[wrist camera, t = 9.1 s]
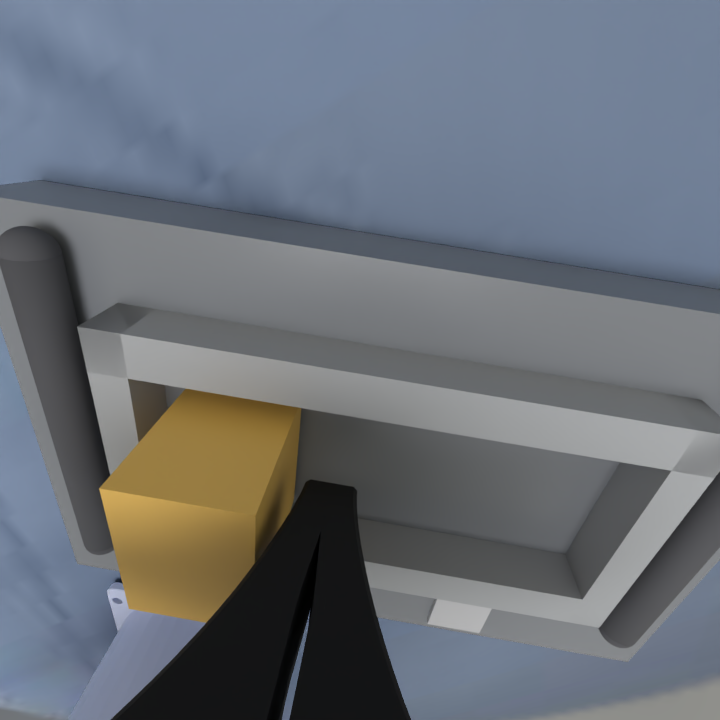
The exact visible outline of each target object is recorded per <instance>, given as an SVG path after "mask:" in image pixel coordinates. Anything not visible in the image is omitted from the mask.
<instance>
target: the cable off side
mask: <svg viewBox="0 0 720 720" xmlns="http://www.w3.org/2000/svg"><path fill="white" fill-rule="evenodd" d="M719 548H720V472H719V473H718V474H717V476H716V477H715V478H714V479H713V481H712V482H711V483H710V485H709V486H708V487H707V489H706V490H705V491H704V492H703V494H702V495H701V496H700V498H699V499H698V500H697V501H696V503H695V504H694V505H693V507H692V508H691V509H690V511H689V512H688V513H687V514H686V516H685V517H684V518H683V520H682V521H681V522H680V524H679V525H678V526H677V527H676V529H675V530H674V531H673V533H672V534H671V535H670V537H669V538H668V539H667V540H666V542H665V543H664V544H663V546H662V547H661V548H660V550H659V551H658V552H657V553H656V555H655V556H654V557H653V559H652V560H651V561H650V563H649V564H648V565H647V566H646V568H645V569H644V570H643V572H642V573H641V574H640V576H639V577H638V578H637V579H636V581H635V582H634V583H633V585H632V586H631V587H630V589H629V590H628V591H627V592H626V594H625V595H624V596H623V598H622V599H621V600H620V601H619V603H618V604H617V605H616V607H615V608H614V609H613V611H612V612H611V613H610V614H609V616H608V617H607V618H606V620H605V621H604V622H603V624H602V625H601V626H600V627H599V628H598V629H599V631H600V633H601V635H602V636H603V638H604V639H605V640H606V641H607V642H608V643H610V644H611V645H613V646H615V647H618V648H629V647H632V646H633V645H634V644H635V643H636V642H637V641H638V640H639V639H640V638H641V636H642V635H643V634H644V633H645V632H646V631H647V630H648V629H649V627H650V626H651V625H652V624H653V623H654V622H655V621H656V619H657V618H658V617H659V616H660V615H661V614H662V613H663V611H664V610H665V609H666V608H667V607H668V606H669V605H670V603H671V602H672V601H673V600H674V599H675V598H676V597H677V596H678V594H679V593H680V592H681V591H682V590H683V589H684V588H685V586H686V585H687V584H688V583H689V582H690V581H691V580H692V578H693V577H694V576H695V575H696V574H697V573H698V572H699V571H700V569H701V568H702V567H703V566H704V565H705V564H706V563H707V561H708V560H709V559H710V558H711V557H712V556H713V555H714V553H715V552H716V551H717V550H718V549H719Z"/></svg>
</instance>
